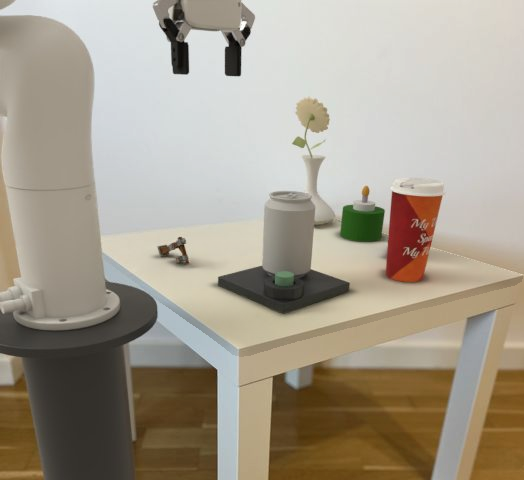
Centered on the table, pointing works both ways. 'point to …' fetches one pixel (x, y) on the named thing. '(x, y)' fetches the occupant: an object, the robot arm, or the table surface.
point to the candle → (362, 220)
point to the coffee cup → (412, 226)
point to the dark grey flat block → (283, 288)
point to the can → (288, 233)
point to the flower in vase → (316, 120)
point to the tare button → (284, 278)
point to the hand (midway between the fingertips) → (207, 75)
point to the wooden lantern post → (179, 244)
